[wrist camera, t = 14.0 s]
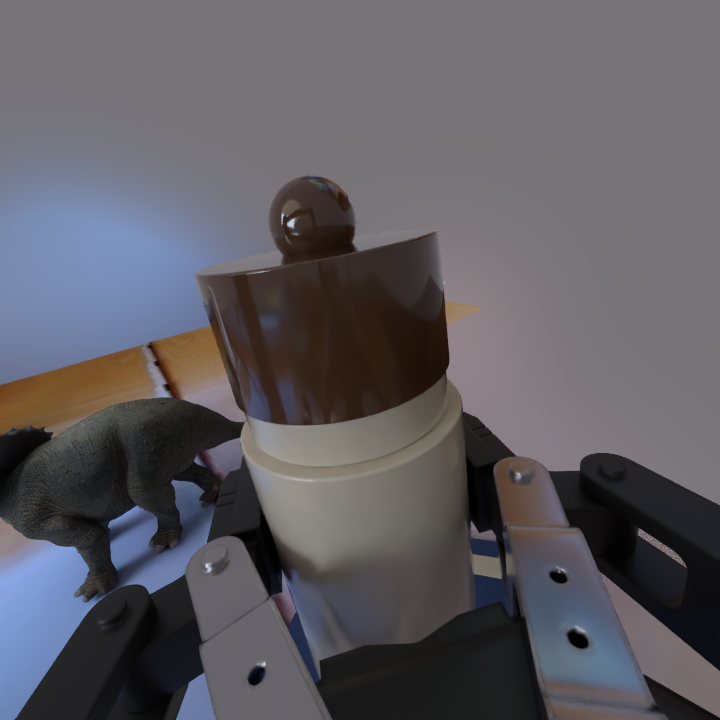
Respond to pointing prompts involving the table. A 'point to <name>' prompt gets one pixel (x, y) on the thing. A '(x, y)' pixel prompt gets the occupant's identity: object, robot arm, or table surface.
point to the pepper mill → (349, 419)
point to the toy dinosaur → (108, 476)
